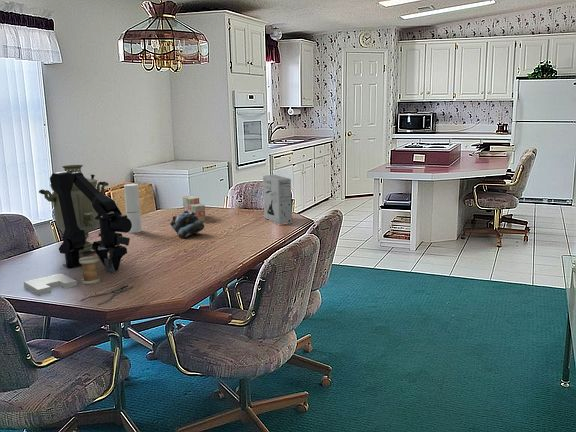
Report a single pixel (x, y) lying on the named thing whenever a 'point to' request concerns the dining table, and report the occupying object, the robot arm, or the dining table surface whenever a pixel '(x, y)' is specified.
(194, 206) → the stack of blocks
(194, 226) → the dark grey lumpy cluster
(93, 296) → the pliers
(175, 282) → the dining table surface
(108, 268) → the steel block
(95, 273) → the bobbin
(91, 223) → the samovar
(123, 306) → the dining table surface
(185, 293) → the dining table surface
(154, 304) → the dining table surface
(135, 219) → the cylindrical container
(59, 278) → the notched board
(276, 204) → the cereal box
